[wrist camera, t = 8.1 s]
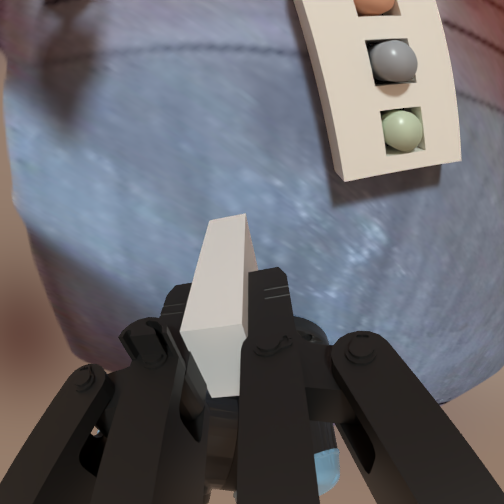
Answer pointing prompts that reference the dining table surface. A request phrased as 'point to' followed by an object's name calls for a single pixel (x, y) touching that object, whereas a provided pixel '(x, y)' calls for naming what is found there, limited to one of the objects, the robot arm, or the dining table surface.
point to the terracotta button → (372, 7)
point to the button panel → (380, 85)
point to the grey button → (392, 61)
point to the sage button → (401, 129)
